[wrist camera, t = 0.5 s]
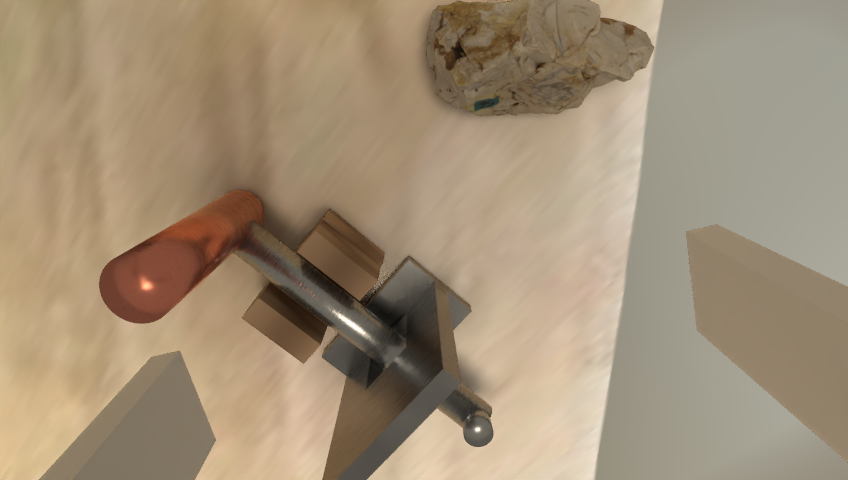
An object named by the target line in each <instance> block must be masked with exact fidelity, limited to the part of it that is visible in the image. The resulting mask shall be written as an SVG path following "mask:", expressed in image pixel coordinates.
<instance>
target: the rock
mask: <svg viewBox="0 0 848 480" xmlns="http://www.w3.org/2000/svg"><path fill="white" fill-rule="evenodd" d="M600 13H601V12H600V8H599V5H598V4H596V3H594V2H592V1H590V0H512V1H507V2H503V3H484V2H471V3H470V2H463V1H456V2H454V3H452V4H450V5H444V6H437V8H436V9H435V10H434V11H433V12H432V17H431V24H430V28H429V31H428V34H427V38H428V45H427V51H426V56H427V60H428V64H429V65H430V67H431V68H432V69H433V70H434V71H436V78H435V93H436V94H437V95H439V96H440V97H441V98H443V99H444V100H445V101H447V102H448V103H450V104H452V105H454V106H455V107H457V108H462V109H465V110H468V111H470V112H473V113H475V114H476V115H479V116H488V115H505V114H512V115H517V114H519V113H546V114H559V113H561V112H562V111H563V110H564V109H569V108H577V107H579V106H580V105H581V104H582V102H583V100H584V98H585V97H586V96H587V95H588V93H589V92H590V91H591V89H592V88H594V87H598V86H601V85H604V84H606V83H608V82H610V81H613V80H615V79H617V80H620V81H623V82H625V81H627V80H631V78H632V77H633V76H634V73H635V72H636V71H638V70H640V69H643V68H646V66H647V64H648V62H649V59H650V57H651V55H652V52H653V50H654V46H653V45H652V44H651V41H650V38H649V37H648V35H647V33H646V32H644V31H642V30H640V29H639V28H637V27H636V26H633V25H630V24H627V23H625V22H620V21H617V20H613V19H609V18H600Z"/></svg>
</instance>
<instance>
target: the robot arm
mask: <svg viewBox="0 0 848 480" xmlns="http://www.w3.org/2000/svg"><path fill="white" fill-rule="evenodd" d="M686 237H687V246H688V255H689V264H690V273H691V282H692V291H693V300H694V308H695V317H696V327H697V331H698V332H699V333H701V334H702V335H703V336H704V337H705V338H706V339H708V340H709V341H710V342H711V343H712V344H713V345H714V346H715V347H717V348H718V349H719V350H720V351H721V352H722V353H723V354H725V355H726V356H727V357H728V358H729V359H730V360H731V361H732V362H734V363H735V364H736V365H737V366H738V367H739V368H741V369H742V370H743V371H744V372H745V373H746V374H747V375H748V376H750V377H751V378H752V379H753V380H754V381H755V382H756V383H758V384H759V385H760V386H761V387H762V388H763V389H764V390H766V391H767V392H768V393H769V394H770V395H771V396H773V397H774V398H775V399H776V400H777V401H778V402H779V403H780V404H782V405H783V406H784V407H785V408H786V409H788V411H790V412H791V413H792V414H793V415H794V416H795V417H797V418H798V419H799V420H800V421H801V422H802V423H803V424H804V425H806V426H807V427H808V428H809V429H810V430H812V432H814V433H815V434H816V435H817V436H818V437H819V438H820V439H822V440H823V441H824V442H825V443H826V444H827V445H828V446H830V447H831V448H832V449H833V450H834V451H835V452H836V453H838V454H839V455H840V456H841V457H842V458H843V459H844V460H846V461H847V462H848V287H847V286H845V285H843V284H841V283H839V282H837V281H835V280H832V279H830V278H828V277H826V276H824V275H822V274H820V273H818V272H816V271H814V270H811V269H809V268H807V267H805V266H803V265H801V264H799V263H797V262H795V261H793V260H790V259H788V258H786V257H784V256H782V255H780V254H778V253H776V252H774V251H772V250H769V249H767V248H765V247H763V246H761V245H759V244H757V243H755V242H753V241H750V240H749V239H746V238H744V237H742V236H740V235H738V234H736V233H734V232H732V231H730V230H727V229H725V228H723V227H721V226H719V225H717V224H716V225H711V226H708V227H703V228H699V229H695V230H691V231H686ZM215 441H216V439H215V436H214V434H213V431H212V429H211V426H210V424H209V422H208V419H207V417H206V414H205V412H204V409H203V407H202V404H201V402H200V399H199V397H198V394H197V392H196V389H195V387H194V384H193V382H192V380H191V377H190V375H189V372H188V370H187V367H186V365H185V362H184V360H183V357H182V355H181V352H180V351H176V352H171V353H167V354H163V355H159V356H154V357H151V358H150V359H149V360H148V361H147V363H146V364H145V365H144V366H143V367H142V368H141V369H140V370H139V371H138V372H137V373H136V374H135V376H134V377H133V378H132V379H131V380H130V381H129V382H128V383H127V384H126V385H125V386H124V388H123V389H122V390H121V391H120V392H119V393H118V394H117V395H116V396H115V397H114V398H113V400H112V401H111V402H110V403H109V404H108V405H107V406H106V407H105V408H104V409H103V410H102V412H101V413H100V414H99V415H98V416H97V417H96V418H95V419H94V420H93V421H92V422H91V424H90V425H89V426H88V427H87V428H86V429H85V430H84V431H83V432H82V433H81V434H80V436H79V437H78V438H77V439H76V440H75V441H74V442H73V443H72V444H71V445H70V446H69V448H68V449H67V450H66V451H65V452H64V453H63V454H62V455H61V456H60V457H59V458H58V460H57V461H56V462H55V463H54V464H53V465H52V466H51V467H50V468H49V469H48V470H47V472H46V473H45V474H44V475H43V476H42V477H41V478H40V479H39V480H195V479H196V477H197V475H198V473H199V471H200V469H201V467H202V465H203V463H204V462H205V460H206V458H207V456H208V454H209V452H210V450H211V448H212V446H213V445H214V443H215Z"/></svg>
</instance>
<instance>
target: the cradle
mask: <svg viewBox="0 0 848 480" xmlns="http://www.w3.org/2000/svg"><path fill="white" fill-rule="evenodd" d="M294 252H295V253H296V254H297V255H299V256H300V257H301V258H302V259H304V260H305V261H306V262H307V263H309V264H310V265H311V266H313V267H314V268H315V269H316V270H318V271H319V272H320V273H322V274H323V275H324V276H325V277H327V278H328V279H329V280H330V281H332V282H333V283H334V284H336V285H337V286H338V287H339V288H341V289H342V290H343V291H345V292H346V293H347V294H348V295H350V296H351V297H352V298H353V296H354V297H355V298H356V299H358V300H359V301H360V300H361V299H362V298H363V297H364V296H365V294H366V293H367V292H368V291H369V290H370V289H371V288H372V287H373V285H374V284H375V283H376V282H377V281H378V277H379V272H380V266H381V265H382V264H383V258H384V252H383V251H382V250H380V249H379V248H378V247H377V246H375V245H374V244H373V243H372V242H371V241H369V240H368V239H367V238H366V237H364V236H363V235H362V234H361V233H359V232H358V231H357V230H356V229H355V228H353V227H352V226H351V225H350V224H348V223H347V222H346V221H345V220H343V219H342V218H341V217H340V216H339V215H337V214H336V213H335V212H334V211H332V210H331V209H330V210H329V211H328V212H327V213H326V215H325V216H324V217H323V218H322V219H321V220H320V222H319V223H318V224H317V225H316V226H315V228H314V229H313V230H312V231H311V232H310V234H309V235H308V236H307V237H306V238H305V239H304V241H303V242H302V243H301V244H300V245H299V247H298V248H297V249H296V250H295V251H294ZM242 319H244V320H245V321H246V322H248V323H249V324H251V325H252V326H253V327H255V328H256V329H257V330H259V331H260V332H261V333H263V334H264V335H265V336H267V337H268V338H269V339H271V340H272V341H274V342H275V343H276V344H278V345H279V346H280V347H282V348H283V349H284V350H286V351H287V352H288V353H290V354H291V355H292V356H294V357H295V358H297V359H298V360H299V361H301V362H302V363H303V364H304V363H305V362H306V361H307V359H308V358H309V357H310V356H311V355H312V354H313V353H314V352H315V350H316V349H317V348H318V347H319V346H320V345H321V342H322V340H323V337H324V334H325V331H326V329H327V326H328V325H327V324H326V323H325V322H324V321H322V320H321V319H320V318H318V317H317V316H316V315H314V314H313V313H312V312H310V311H309V310H308V309H307V308H305V307H304V306H303V305H301V304H300V303H299V302H297V301H296V300H295V299H293V298H292V297H291V296H289V295H288V294H287V293H286V292H284V291H283V290H282V289H280V288H279V287H278V286H276V285H275V284H274V283H272V282H271V281H269V282H268V283H267V285H266V286H265V287H264V288H263V289H262V291H261V292H260V293H259V295H258V296H257V297H256V299H255V300H254V301H253V303H252V304H251V306H250V307H249V308H248V310H247V311H246V312H245V314H244V315H243V316H242Z"/></svg>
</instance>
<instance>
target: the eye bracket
mask: <svg viewBox="0 0 848 480" xmlns="http://www.w3.org/2000/svg"><path fill="white" fill-rule="evenodd" d="M364 307H365V308H366V309H368V310H369V311H370V312H371V313H373V314H374V315H375V316H376V317H378V318H379V319H380V320H382V321H383V322H384V323H385V324H387V325H388V326H389V327H391V328H392V329H393V330H394V331H396V332H397V333H398V334H399V335H401V336H402V337H403V338H405V339H406V348H405V349H404V350H403V351H402V352H401V353H400V354H399V355H398V356H397V357H396V358H395V360H394V361H393V362H392V363H391V364H390V365H389V366H388V367H387V368H386V369H385V368H384V367H383V366H381V365H380V364H379V363H377V362H376V361H375V360H373V359H372V358H371V357H369V356H368V355H367V354H365V353H364V352H363V351H362V350H360V349H359V348H358V347H356V346H355V345H354V344H352V343H351V342H350V341H348V340H347V339H346V338H345V337H343V336H342V335H341V334H339V335H338V336H337V337H336V338H335V339H334V340H333V341H332V342H331V343H330V345H329V346H328V347H327V348H326V349H325V350H324V352H323V355H322V358H323V359H325V360H326V361H327V362H329V363H330V364H332V365H333V366H334V367H336V368H337V369H338V370H340V371H341V372H342V373H344V374H345V375H346V376H347V377H346V381H345V386H344V390H343V394H342V399H341V403H340V407H339V411H338V416H337V420H336V424H335V428H334V433H333V437H332V441H331V445H330V450H329V454H328V458H327V462H326V467H325V471H324V475H323V479H322V480H367V479H368V478H369V477H370V476H371V475H372V474H373V473H374V472H375V470H376V469H377V468H378V467H379V466H380V465H381V464H382V463H383V462H384V461H385V460H386V459H387V458H388V457H389V456H390V455H391V454H392V453H393V452H394V451H395V450H396V449H397V448H398V447H399V446H400V445H401V444H402V443H403V442H404V441H405V440H406V439H407V438H408V437H409V436H410V435H411V434H412V433H413V432H414V431H415V430H416V429H417V428H418V427H419V426H420V425H421V424H422V423H423V421H424V420H425V419H426V418H427V417H428V416H429V415H430V414H431V413H432V412H433V411H434V410H435V409H436V408H437V407H438V406H439V405H440V404H441V403H442V402H443V401H444V400H445V399H446V398H447V397H448V396H449V395H450V394H451V393H452V392H453V391H454V390H455V389H456V388H457V387H458V386H459V385H460V384H461V379H460V372H459V366H458V359H457V353H456V346H455V340H454V333H453V330H454V329H455V328H456V327H457V326H458V325H459V324H460V323H461V321H462V320H463V319H464V318H465V317H466V316H467V315H468V314H469V313H470V312H471V307H470V305H469V304H467V303H466V302H465V301H464V300H463V299H461V298H460V297H459V296H458V295H456V294H455V293H454V292H453V291H452V290H450V289H449V288H448V287H447V286H445V285H444V284H443V283H442V282H441V281H439V280H438V279H437V278H436V277H434V276H433V275H432V274H431V273H430V272H428V271H427V270H426V269H425V268H424V267H422V266H421V265H420V264H419V263H417V262H416V261H415V260H414V259H413V258H411V257H410V256H408V258H407V259H406V260H405V261H404V262H403V263H402V264H401V265H400V266H399V268H398V269H397V270H396V271H395V272H394V273H393V274H392V275H391V277H390V278H389V279H388V280H387V281H386V282H385V283H384V284H383V285H382V287H381V288H380V289H379V290H378V291H377V292H376V293H375V294H374V295H373V297H372V298H371V299H370V300H369V301H368V302H367V303H366V304H365V306H364Z"/></svg>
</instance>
